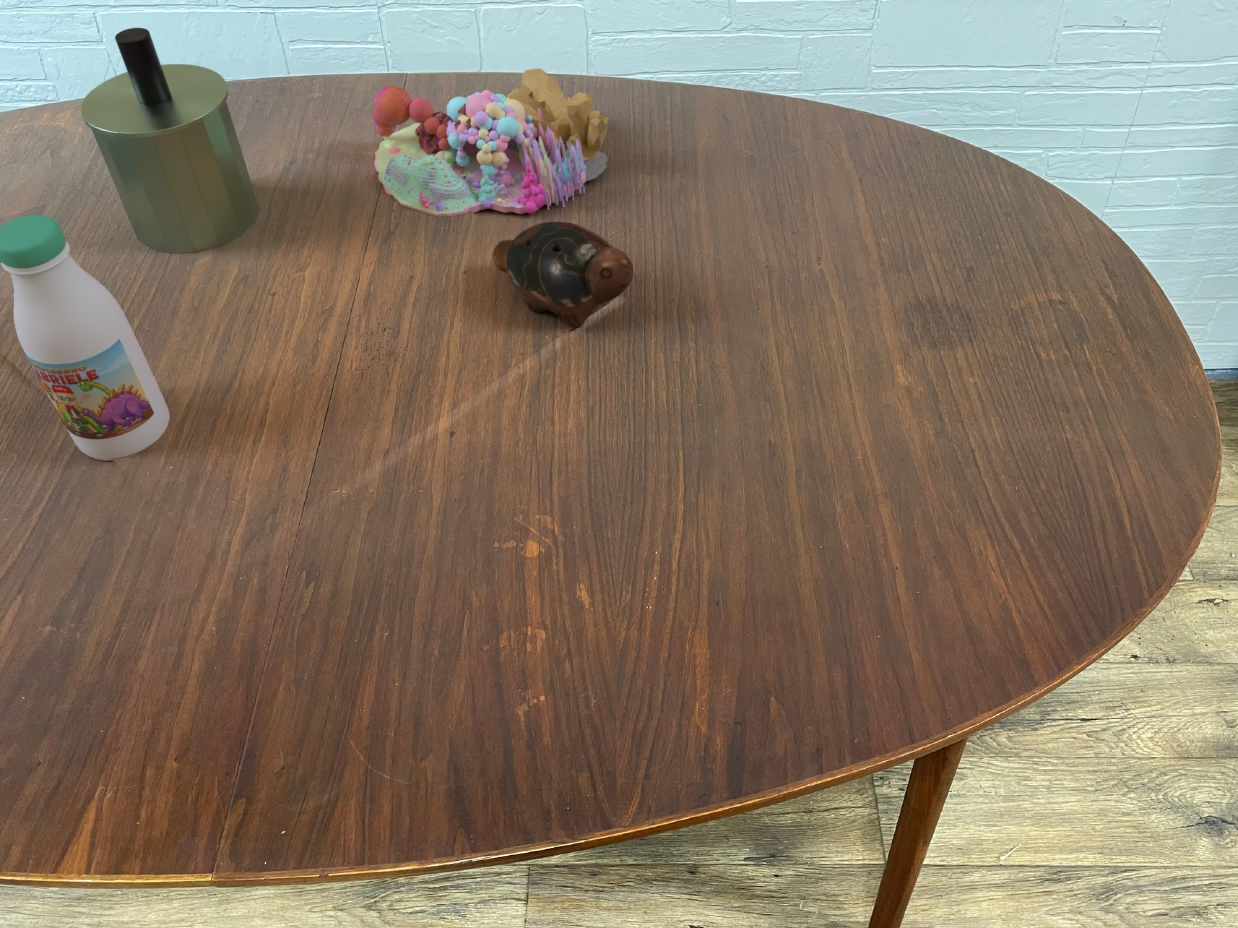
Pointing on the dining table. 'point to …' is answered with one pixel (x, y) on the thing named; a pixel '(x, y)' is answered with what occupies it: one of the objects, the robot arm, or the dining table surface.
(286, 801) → the dining table surface
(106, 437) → the milk bottle
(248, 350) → the dining table surface
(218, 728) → the dining table surface
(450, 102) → the candy landscape model
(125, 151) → the tin
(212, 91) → the tin lid
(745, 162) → the dining table surface
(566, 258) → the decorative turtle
